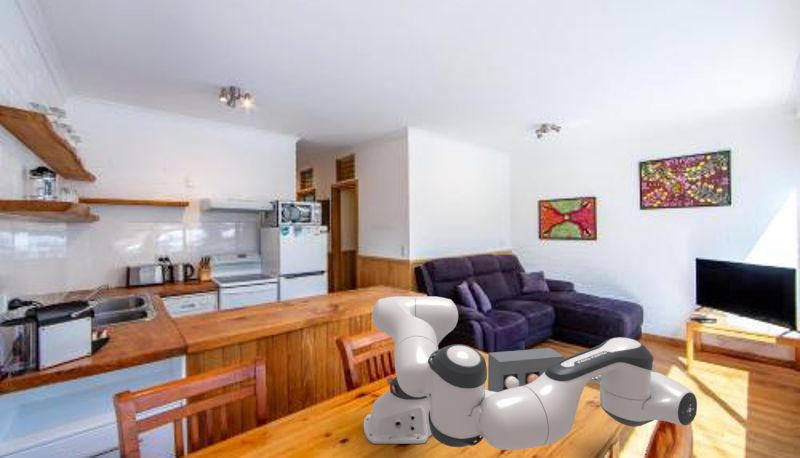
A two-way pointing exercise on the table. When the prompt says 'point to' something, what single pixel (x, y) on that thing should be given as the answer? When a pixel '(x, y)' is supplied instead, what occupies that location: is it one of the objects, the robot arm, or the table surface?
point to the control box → (518, 365)
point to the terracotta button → (531, 378)
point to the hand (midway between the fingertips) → (587, 356)
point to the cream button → (511, 382)
